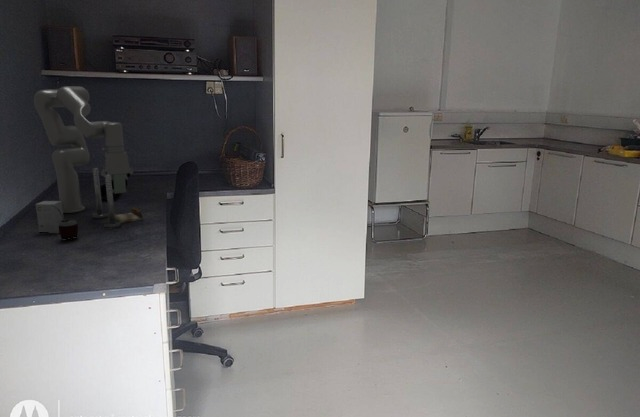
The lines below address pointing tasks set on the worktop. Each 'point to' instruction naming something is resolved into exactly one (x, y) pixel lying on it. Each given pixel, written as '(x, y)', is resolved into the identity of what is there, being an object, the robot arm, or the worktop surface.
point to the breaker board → (129, 216)
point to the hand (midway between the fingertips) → (118, 187)
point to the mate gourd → (67, 227)
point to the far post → (98, 197)
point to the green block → (119, 183)
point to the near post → (110, 204)
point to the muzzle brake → (104, 191)
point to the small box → (49, 216)
